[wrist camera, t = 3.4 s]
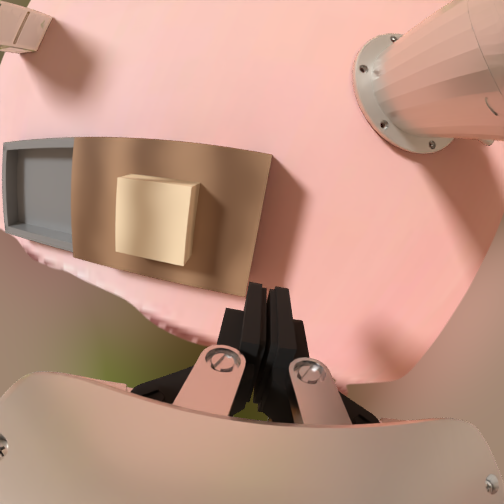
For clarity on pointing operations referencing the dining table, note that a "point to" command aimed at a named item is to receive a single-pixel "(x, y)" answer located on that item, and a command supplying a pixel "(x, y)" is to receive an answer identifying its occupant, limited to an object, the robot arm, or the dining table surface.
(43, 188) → the box
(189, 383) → the robot arm
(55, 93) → the dining table surface
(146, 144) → the board
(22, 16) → the syrup box
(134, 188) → the tile
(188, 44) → the dining table surface
